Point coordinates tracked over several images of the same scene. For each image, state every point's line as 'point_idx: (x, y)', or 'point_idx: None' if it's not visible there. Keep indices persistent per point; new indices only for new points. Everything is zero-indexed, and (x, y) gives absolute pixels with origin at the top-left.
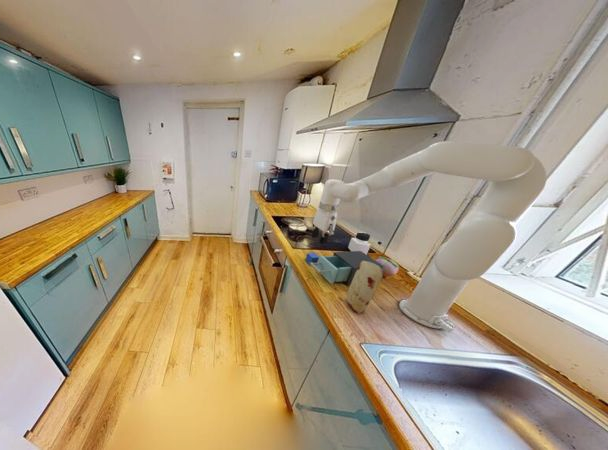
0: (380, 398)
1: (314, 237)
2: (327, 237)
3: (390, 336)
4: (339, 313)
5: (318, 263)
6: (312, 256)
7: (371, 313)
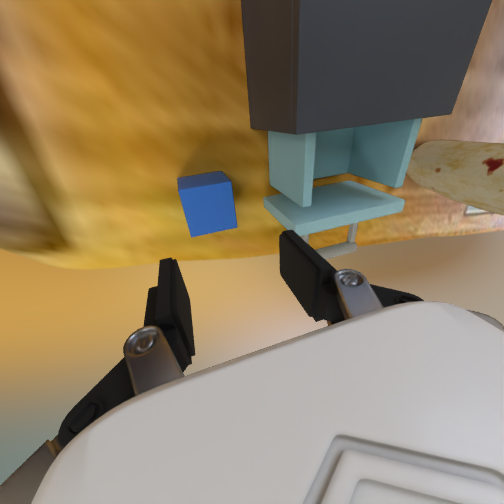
0: (499, 230)
1: (184, 283)
2: (325, 260)
3: (497, 134)
4: (415, 216)
5: (308, 234)
6: (226, 222)
7: (455, 126)
